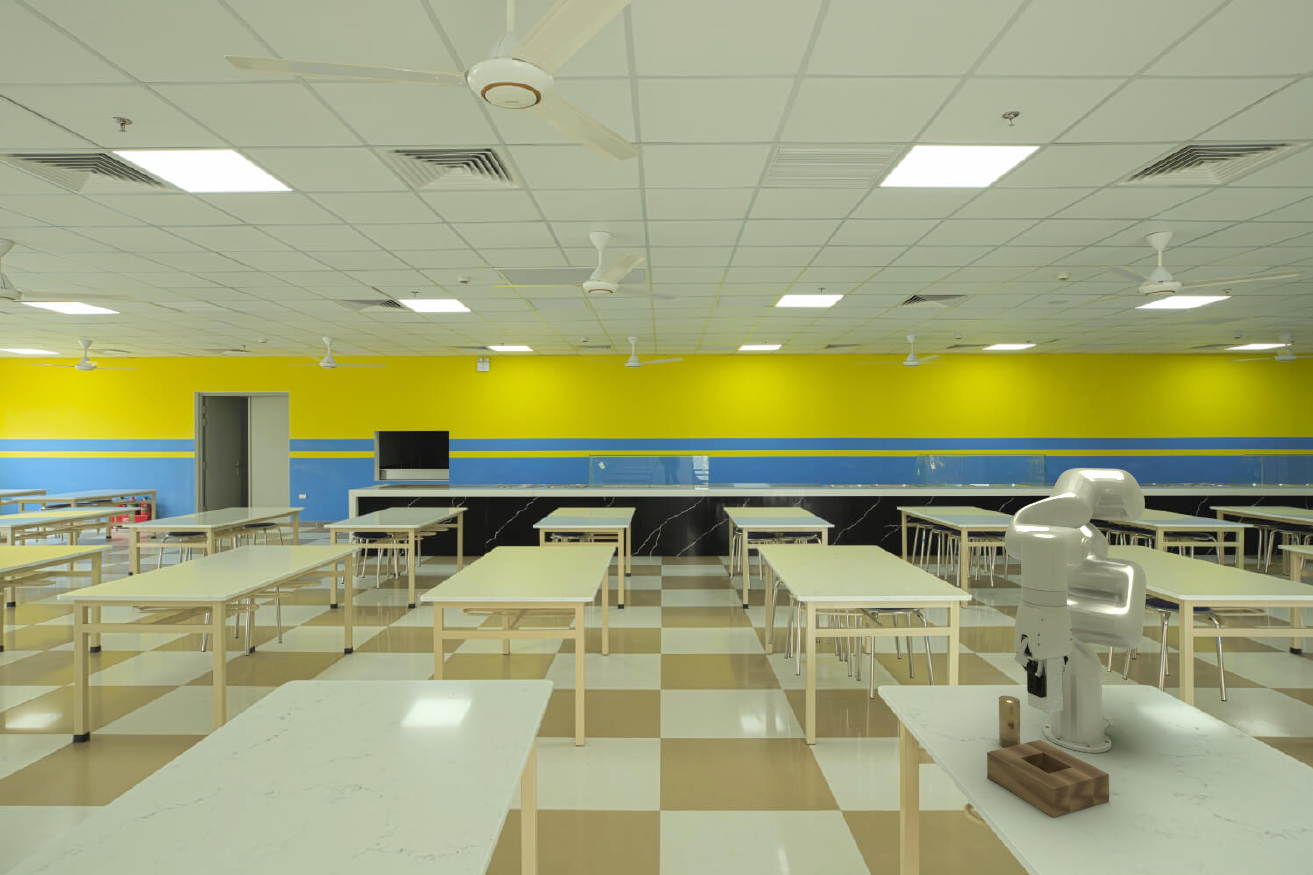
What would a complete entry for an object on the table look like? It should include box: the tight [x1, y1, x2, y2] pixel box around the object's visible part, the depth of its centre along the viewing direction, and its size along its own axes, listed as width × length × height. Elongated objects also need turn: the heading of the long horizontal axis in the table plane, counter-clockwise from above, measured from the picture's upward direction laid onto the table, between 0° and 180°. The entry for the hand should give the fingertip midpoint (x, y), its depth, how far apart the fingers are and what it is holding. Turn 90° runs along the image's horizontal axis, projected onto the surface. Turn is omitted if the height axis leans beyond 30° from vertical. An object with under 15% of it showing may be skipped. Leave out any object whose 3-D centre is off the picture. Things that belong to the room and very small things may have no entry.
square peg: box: [1027, 656, 1063, 714], centre depth 120 cm, size 4×4×10 cm
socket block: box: [986, 739, 1110, 818], centre depth 121 cm, size 14×14×5 cm
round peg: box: [998, 695, 1021, 749], centre depth 137 cm, size 4×4×10 cm
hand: (1045, 692), depth 120 cm, fingers closed on square peg, 4 cm apart
